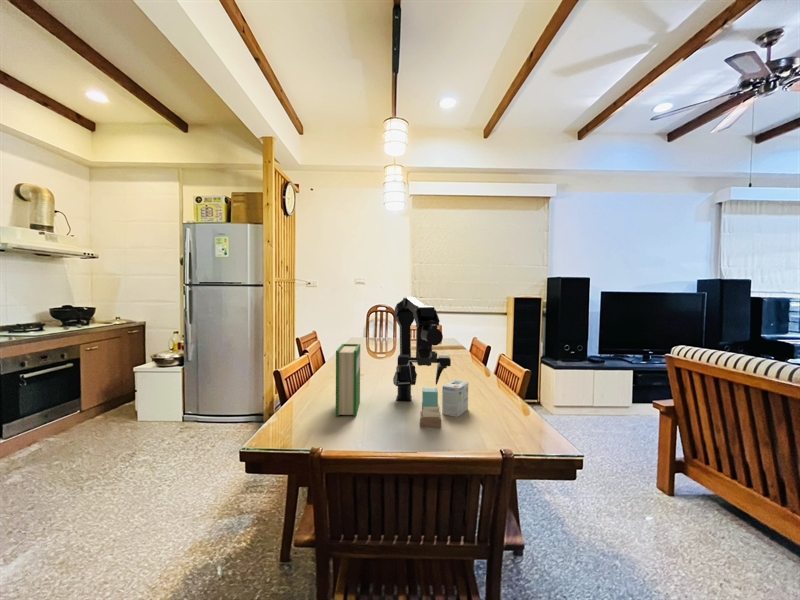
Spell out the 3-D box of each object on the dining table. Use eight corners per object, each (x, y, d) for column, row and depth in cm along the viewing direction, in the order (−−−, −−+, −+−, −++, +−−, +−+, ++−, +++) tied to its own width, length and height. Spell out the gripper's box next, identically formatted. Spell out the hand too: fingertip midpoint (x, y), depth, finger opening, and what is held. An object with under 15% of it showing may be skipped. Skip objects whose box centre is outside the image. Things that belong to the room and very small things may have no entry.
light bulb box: (452, 406, 144) (452, 379, 143) (468, 409, 140) (469, 381, 140) (441, 414, 134) (441, 385, 134) (458, 417, 131) (458, 388, 131)
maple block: (421, 411, 127) (421, 401, 127) (437, 411, 127) (437, 401, 127) (423, 417, 122) (423, 406, 122) (439, 417, 122) (439, 406, 122)
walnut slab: (420, 420, 128) (420, 411, 128) (440, 421, 128) (440, 411, 127) (420, 428, 121) (420, 418, 121) (441, 429, 121) (441, 418, 120)
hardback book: (356, 417, 130) (356, 351, 130) (335, 417, 130) (335, 350, 130) (359, 402, 148) (360, 344, 147) (341, 402, 148) (342, 343, 147)
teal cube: (422, 406, 122) (423, 391, 122) (422, 402, 127) (422, 387, 127) (437, 406, 122) (437, 392, 122) (436, 402, 127) (436, 388, 127)
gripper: (397, 344, 121) (396, 389, 122) (452, 345, 120) (451, 391, 121) (398, 338, 132) (397, 380, 133) (449, 340, 132) (448, 382, 132)
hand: (423, 383), depth 130 cm, fingers open, 9 cm apart
